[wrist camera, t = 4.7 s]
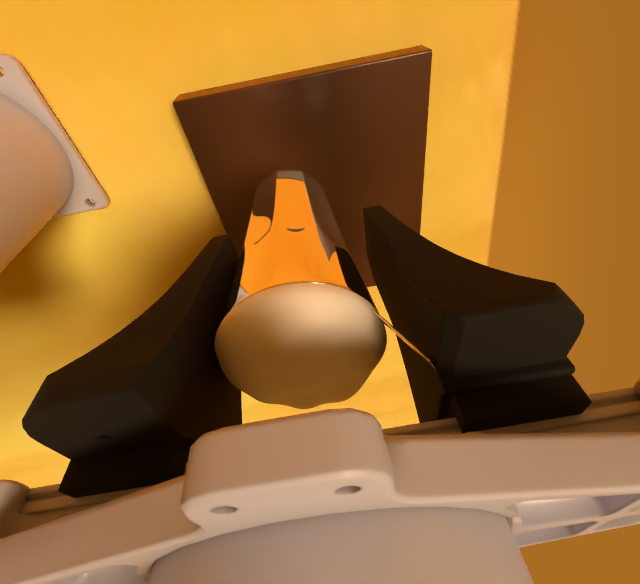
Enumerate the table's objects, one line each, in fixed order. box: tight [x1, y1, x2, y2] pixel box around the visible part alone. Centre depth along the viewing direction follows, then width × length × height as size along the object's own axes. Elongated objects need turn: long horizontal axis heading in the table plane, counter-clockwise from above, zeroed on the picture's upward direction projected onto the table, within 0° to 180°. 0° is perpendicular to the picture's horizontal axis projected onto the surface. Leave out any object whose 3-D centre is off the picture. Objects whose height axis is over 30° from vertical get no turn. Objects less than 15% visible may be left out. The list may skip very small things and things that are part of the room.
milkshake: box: [215, 170, 435, 409], centre depth 11 cm, size 4×5×10 cm
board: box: [173, 45, 432, 287], centre depth 22 cm, size 13×15×2 cm
